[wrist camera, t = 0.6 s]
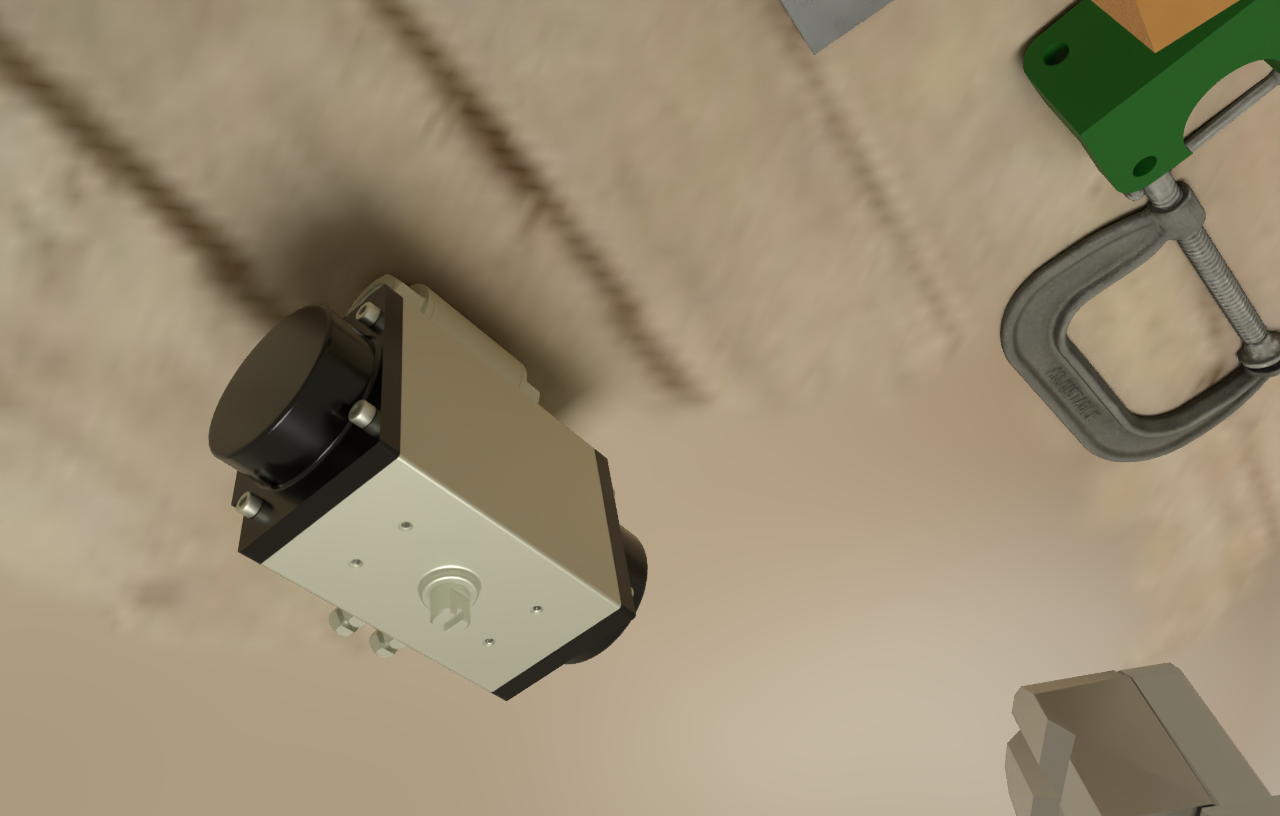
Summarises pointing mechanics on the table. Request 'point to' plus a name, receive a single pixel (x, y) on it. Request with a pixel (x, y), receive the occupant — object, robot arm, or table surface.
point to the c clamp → (1098, 263)
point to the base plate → (829, 18)
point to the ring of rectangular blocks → (1161, 17)
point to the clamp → (1142, 82)
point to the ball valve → (426, 490)
